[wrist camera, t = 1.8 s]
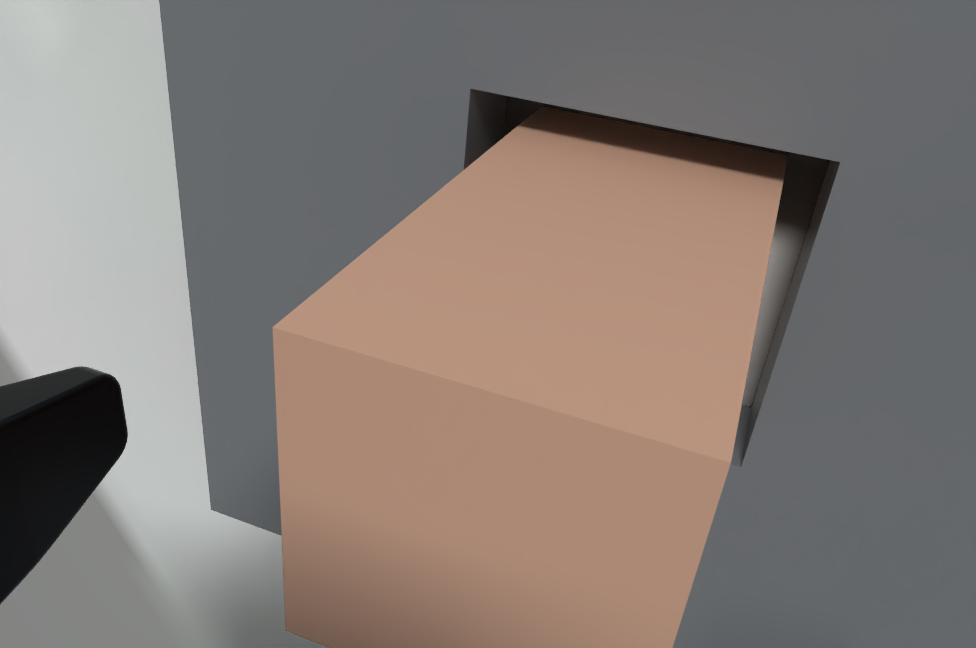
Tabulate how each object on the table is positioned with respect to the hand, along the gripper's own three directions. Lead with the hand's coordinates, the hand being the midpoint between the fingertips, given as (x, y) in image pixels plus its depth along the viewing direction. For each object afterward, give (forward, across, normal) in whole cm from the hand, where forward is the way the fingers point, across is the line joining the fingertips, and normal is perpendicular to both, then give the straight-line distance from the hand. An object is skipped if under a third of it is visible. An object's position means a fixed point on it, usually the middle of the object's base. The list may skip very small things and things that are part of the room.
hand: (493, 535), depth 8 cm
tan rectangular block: (+8, 0, 0) cm, 8 cm away
